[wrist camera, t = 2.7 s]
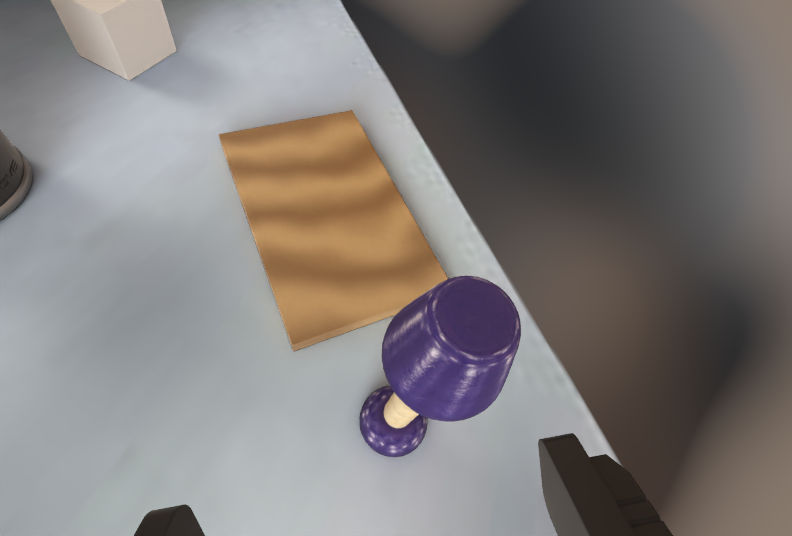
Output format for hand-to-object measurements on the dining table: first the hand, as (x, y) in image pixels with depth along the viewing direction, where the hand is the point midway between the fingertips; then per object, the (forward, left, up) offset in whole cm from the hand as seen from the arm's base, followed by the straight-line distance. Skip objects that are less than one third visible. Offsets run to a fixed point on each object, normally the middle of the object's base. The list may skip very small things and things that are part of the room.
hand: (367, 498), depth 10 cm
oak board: (-6, +20, -17) cm, 27 cm away
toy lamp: (+2, +5, -17) cm, 18 cm away
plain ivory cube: (-29, +34, -17) cm, 48 cm away
